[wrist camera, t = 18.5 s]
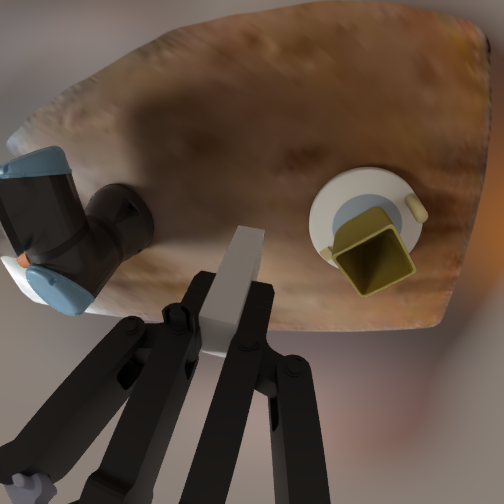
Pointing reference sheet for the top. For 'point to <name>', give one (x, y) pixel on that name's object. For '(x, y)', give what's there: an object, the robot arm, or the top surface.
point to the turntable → (364, 206)
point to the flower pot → (371, 252)
